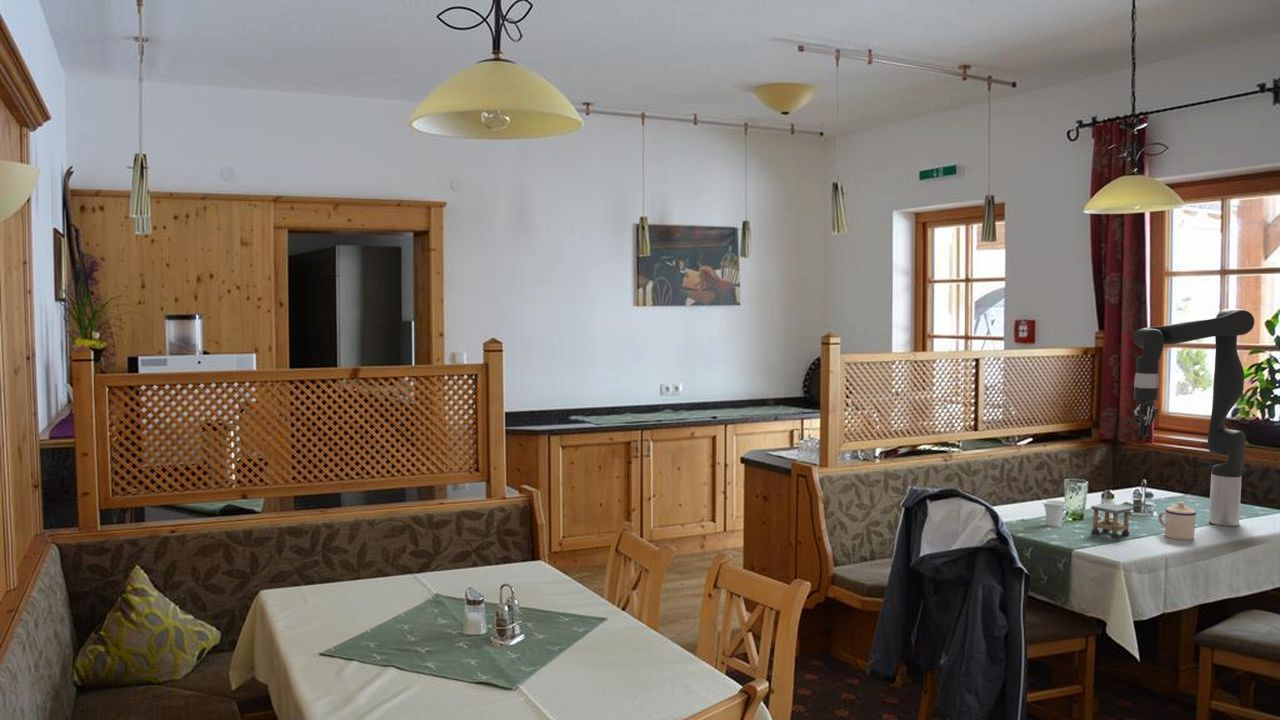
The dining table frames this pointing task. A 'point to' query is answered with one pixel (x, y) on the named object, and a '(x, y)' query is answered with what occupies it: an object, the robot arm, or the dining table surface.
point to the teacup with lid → (1179, 522)
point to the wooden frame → (1107, 523)
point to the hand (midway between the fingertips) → (1143, 435)
